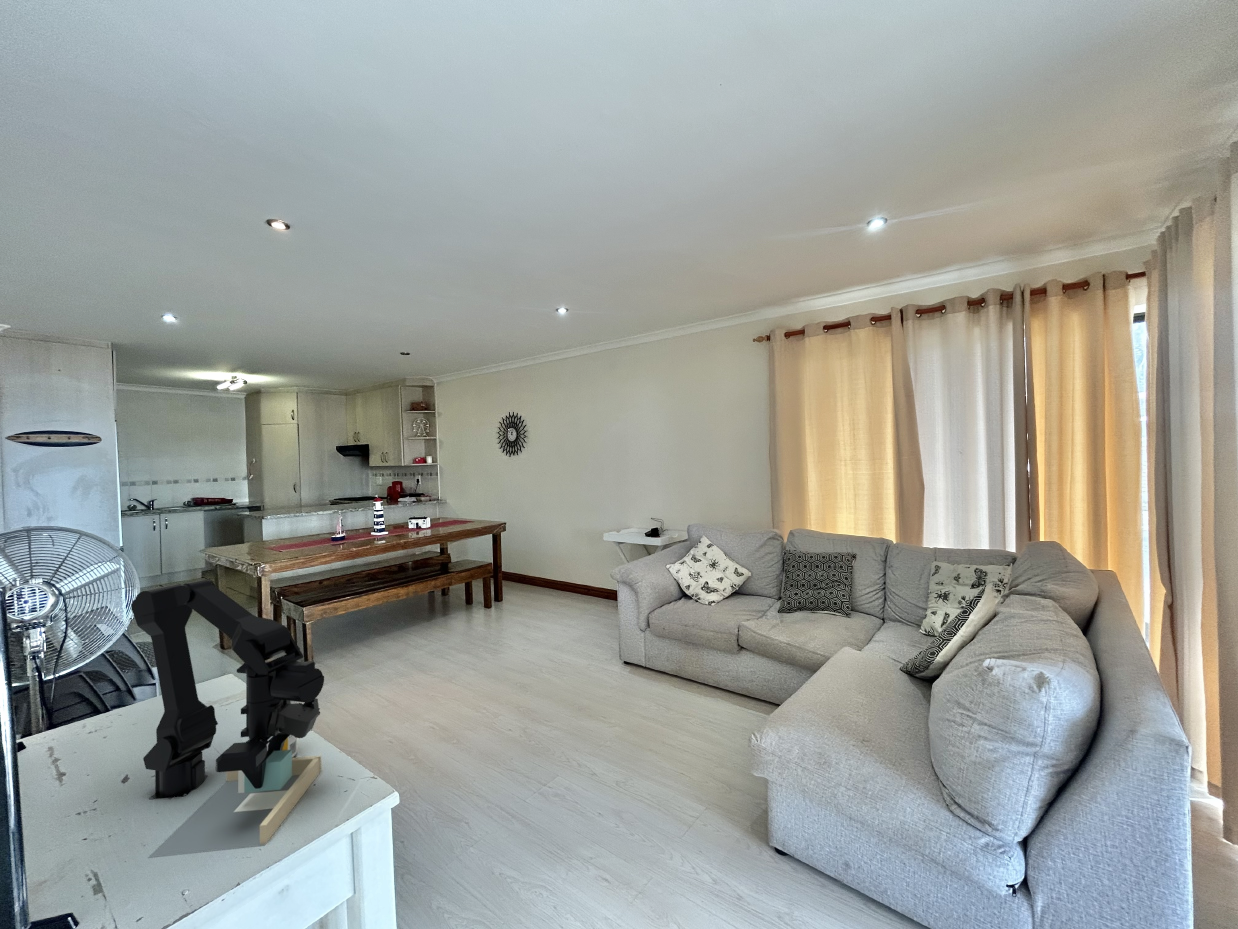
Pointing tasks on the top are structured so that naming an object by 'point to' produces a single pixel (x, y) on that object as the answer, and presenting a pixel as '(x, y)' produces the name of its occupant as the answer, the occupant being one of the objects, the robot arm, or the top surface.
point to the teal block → (270, 773)
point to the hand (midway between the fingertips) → (265, 780)
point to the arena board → (240, 814)
